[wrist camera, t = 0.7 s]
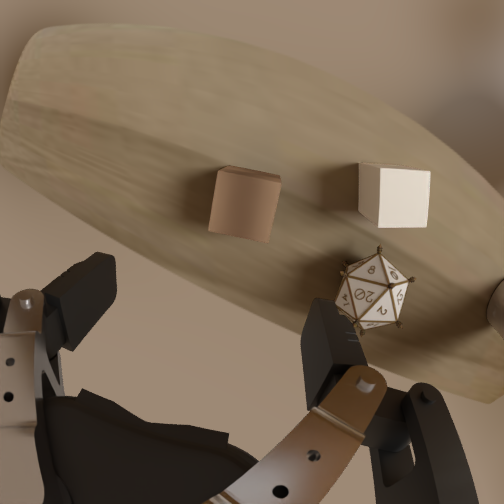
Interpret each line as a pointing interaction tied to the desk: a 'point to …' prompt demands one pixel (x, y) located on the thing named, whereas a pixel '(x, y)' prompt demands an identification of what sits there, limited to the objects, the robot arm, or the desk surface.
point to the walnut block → (244, 203)
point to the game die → (372, 292)
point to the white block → (394, 195)
